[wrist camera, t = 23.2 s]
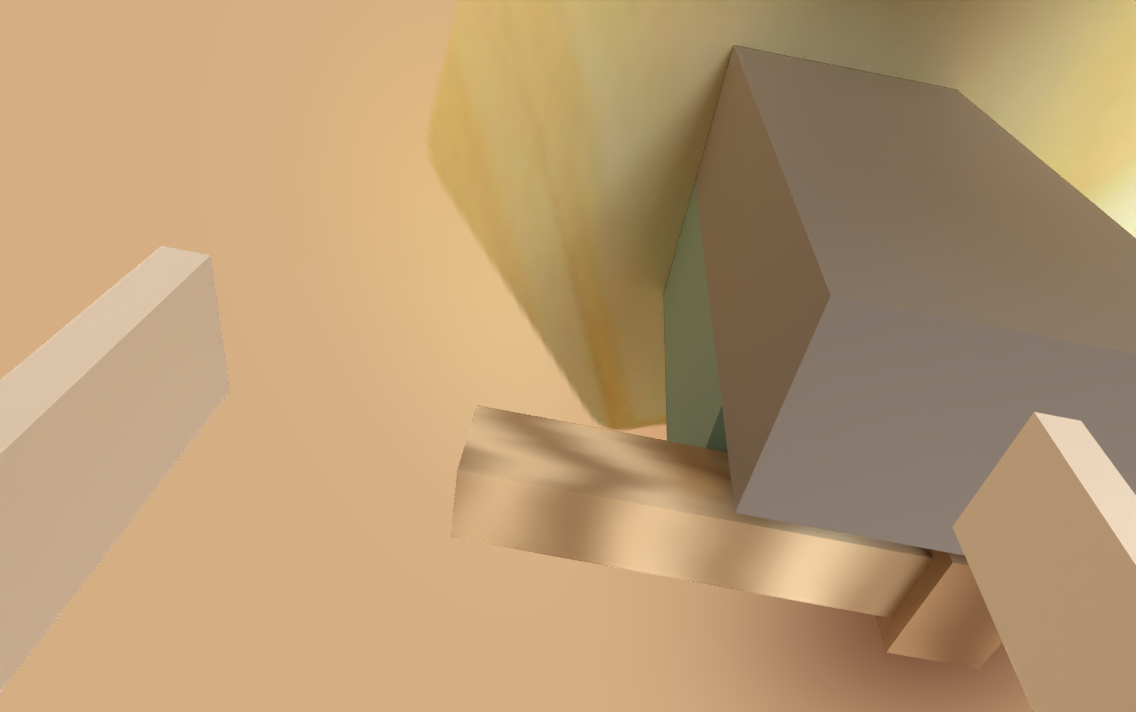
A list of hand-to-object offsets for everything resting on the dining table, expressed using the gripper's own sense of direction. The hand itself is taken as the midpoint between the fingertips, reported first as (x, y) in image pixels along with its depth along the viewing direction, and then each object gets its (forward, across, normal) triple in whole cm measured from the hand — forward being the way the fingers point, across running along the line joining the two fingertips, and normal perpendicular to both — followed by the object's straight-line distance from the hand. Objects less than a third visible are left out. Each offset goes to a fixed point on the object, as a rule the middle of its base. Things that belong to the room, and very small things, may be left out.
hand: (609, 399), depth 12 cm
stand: (+39, +13, -11) cm, 42 cm away
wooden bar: (+15, +8, -15) cm, 23 cm away
